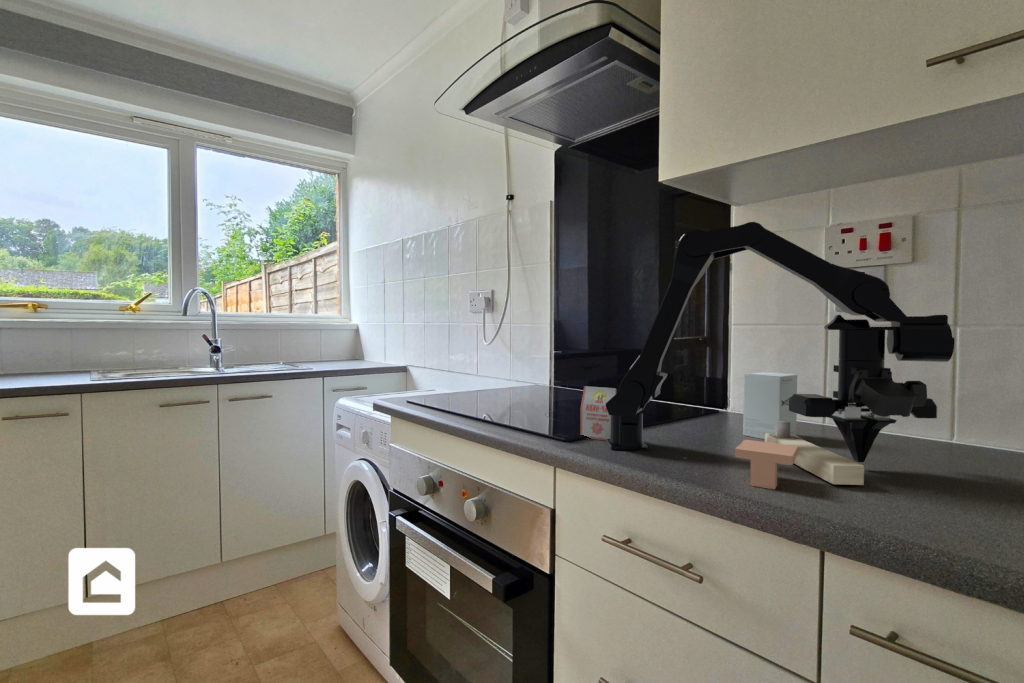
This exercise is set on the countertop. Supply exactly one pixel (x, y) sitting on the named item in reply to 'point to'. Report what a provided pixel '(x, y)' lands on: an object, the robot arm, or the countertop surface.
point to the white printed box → (596, 412)
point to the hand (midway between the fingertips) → (859, 461)
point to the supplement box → (768, 402)
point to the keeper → (765, 460)
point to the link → (819, 458)
